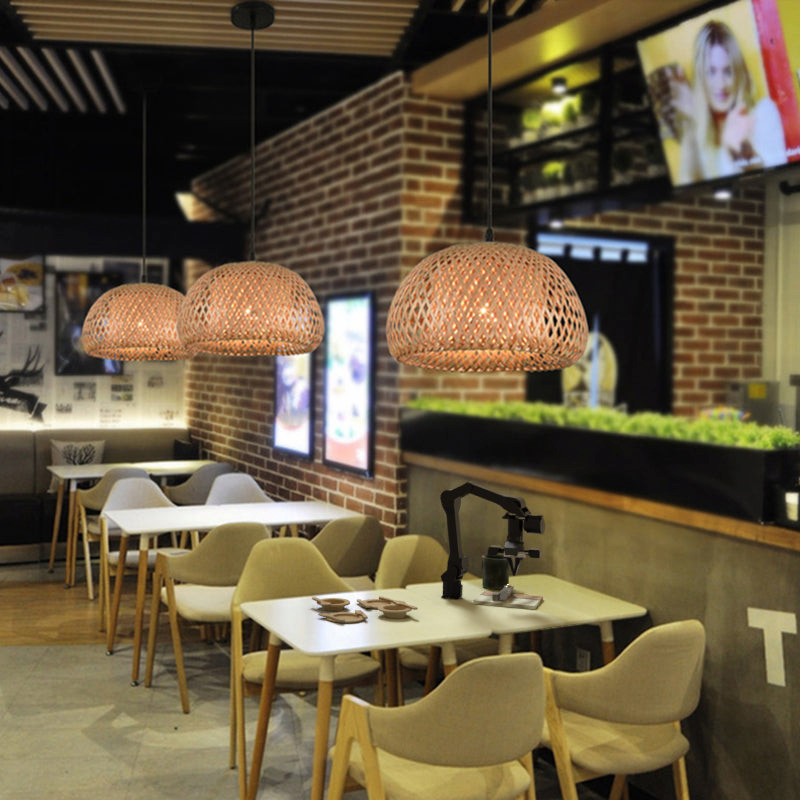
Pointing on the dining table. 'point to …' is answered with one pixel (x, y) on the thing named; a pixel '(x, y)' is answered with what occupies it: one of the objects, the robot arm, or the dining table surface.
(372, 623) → the dining table surface
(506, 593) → the bar
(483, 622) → the dining table surface
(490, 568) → the mug
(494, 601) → the door mock-up board
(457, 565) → the robot arm
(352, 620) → the tableware set
